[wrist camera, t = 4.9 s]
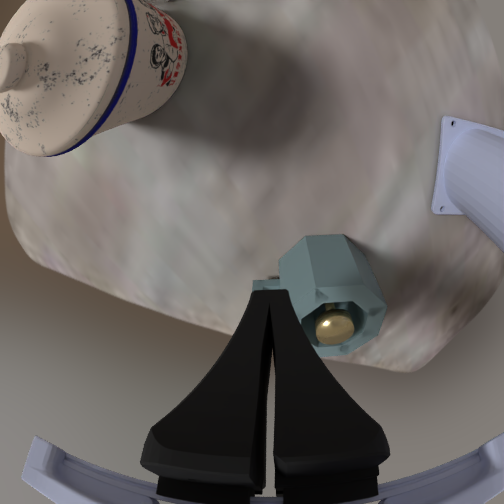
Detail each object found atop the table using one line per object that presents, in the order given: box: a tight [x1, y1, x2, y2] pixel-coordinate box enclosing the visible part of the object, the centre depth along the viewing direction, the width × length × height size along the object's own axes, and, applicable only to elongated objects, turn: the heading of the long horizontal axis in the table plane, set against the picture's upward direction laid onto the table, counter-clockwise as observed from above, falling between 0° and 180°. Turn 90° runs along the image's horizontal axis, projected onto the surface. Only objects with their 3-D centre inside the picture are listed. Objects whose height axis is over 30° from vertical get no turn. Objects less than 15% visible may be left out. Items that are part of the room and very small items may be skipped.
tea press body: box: [252, 234, 387, 357], centre depth 20 cm, size 9×7×6 cm
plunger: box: [315, 302, 354, 345], centre depth 20 cm, size 4×4×5 cm
